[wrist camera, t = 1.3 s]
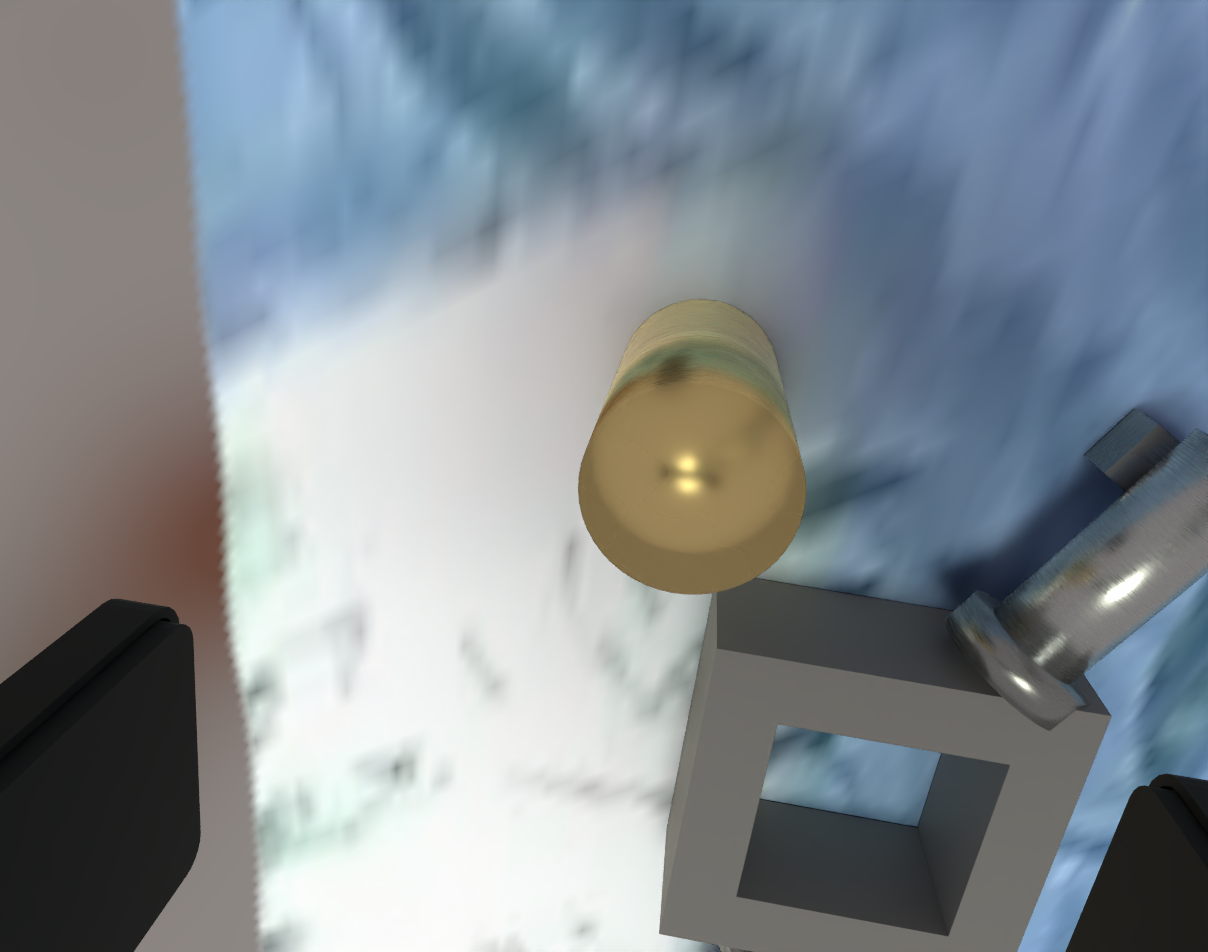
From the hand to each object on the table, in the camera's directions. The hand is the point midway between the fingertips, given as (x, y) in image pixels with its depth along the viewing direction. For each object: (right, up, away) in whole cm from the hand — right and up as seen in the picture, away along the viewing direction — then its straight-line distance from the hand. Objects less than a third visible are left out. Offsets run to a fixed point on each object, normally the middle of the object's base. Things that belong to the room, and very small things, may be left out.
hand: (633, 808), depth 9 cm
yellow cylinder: (+2, +6, +14) cm, 16 cm away
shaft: (+12, +2, +15) cm, 19 cm away
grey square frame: (+7, -4, +18) cm, 20 cm away
